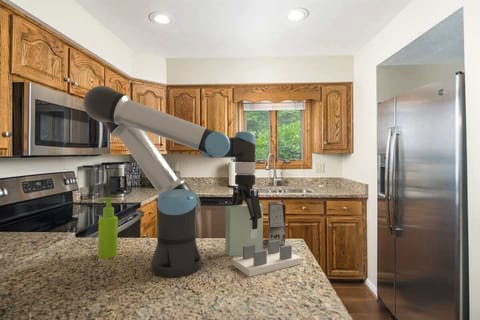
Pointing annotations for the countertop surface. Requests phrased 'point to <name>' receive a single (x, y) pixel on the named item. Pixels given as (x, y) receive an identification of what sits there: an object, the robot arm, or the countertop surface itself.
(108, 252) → the soap dispenser
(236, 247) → the door
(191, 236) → the robot arm
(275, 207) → the coffee box
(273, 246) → the cabinet base
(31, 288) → the countertop surface
